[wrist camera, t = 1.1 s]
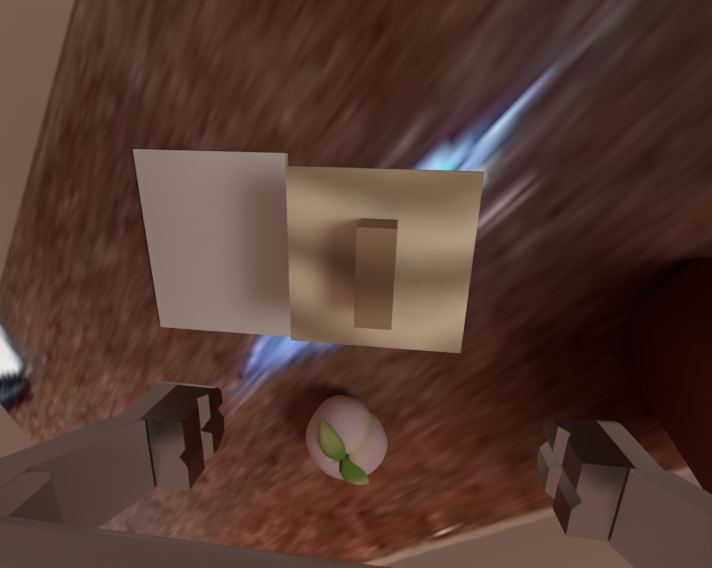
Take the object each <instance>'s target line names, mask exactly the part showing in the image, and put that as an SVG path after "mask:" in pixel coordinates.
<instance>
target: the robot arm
mask: <svg viewBox="0 0 712 568" xmlns="http://www.w3.org/2000/svg"><path fill="white" fill-rule="evenodd" d="M221 404H222V394H221V390H220V389H219V388H218V387H211V386H202V385H193V384H184V383H182V384H181V383H175V382H160V383H159V384H157V385H156V386H155V387H154V388H152V389H151V390H150V391H149V392H148V393H146V394H145V395H144V396H143V397H142V398H140V399H139V400H138V401H137V402H136V403H134V404H133V405H132V406H131V407H130V408H128V409H127V410H126V411H125V412H123V413H122V414H121V415H120V416H119V417H110V418H107V419H104V420H101V421H99V422H96V423H93V424H91V425H88V426H85V427H83V428H80V429H77V430H75V431H72V432H69V433H67V434H64V435H61V436H59V437H56V438H53V439H51V440H48V441H45V442H42V443H40V444H37V445H34V446H32V447H29V448H26V449H24V450H21V451H18V452H16V453H13V454H10V455H8V456H5V457H2V458H0V568H390V567H383V566H375V565H368V564H360V563H353V562H345V561H338V560H330V559H322V558H315V557H307V556H300V555H292V554H285V553H277V552H270V551H262V550H255V549H247V548H240V547H232V546H225V545H217V544H210V543H203V542H195V541H188V540H180V539H173V538H165V537H158V536H150V535H143V534H136V533H128V532H121V531H113V530H106V529H98V528H99V527H100V526H102V525H103V524H105V523H106V522H108V521H109V520H111V519H112V518H114V517H115V516H117V515H118V514H119V513H121V512H122V511H124V510H125V509H127V508H128V507H130V506H131V505H133V504H134V503H135V502H137V501H138V500H140V499H141V498H143V497H144V496H146V495H147V494H149V493H150V492H152V491H153V490H154V489H155V487H157V488H169V489H180V490H191V488H192V487H193V485H194V484H195V482H196V481H197V479H198V478H199V476H200V475H201V473H202V472H203V471H204V469H205V466H204V461H205V460H206V459H208V458H210V457H212V456H213V455H214V454H215V453H216V451H217V450H218V448H219V446H220V443H221V440H222V438H223V433H224V417H223V416H222V414H221V413H220V412H219V410H218V408H219V406H220V405H221ZM542 433H543V434H544V436H545V438H546V440H547V442H545V443H544V444H543V445H542V446H541V447H540V448H539V452H538V459H537V463H538V474H539V478H540V481H541V484H542V486H543V488H544V491H545V492H546V493H548V494H549V495H550V496H551V497H552V498H554V504H553V510H554V512H555V514H556V516H557V518H558V520H559V522H560V524H561V526H562V528H563V530H564V533H565V535H566V536H573V537H580V538H587V539H594V540H600V541H607V542H610V543H609V544H610V545H611V546H612V547H613V548H614V549H615V550H616V551H617V552H618V553H620V554H621V555H622V556H623V557H624V558H625V559H626V560H627V561H628V562H629V563H630V564H631V565H632V566H633V567H634V568H712V494H710V493H709V492H707V491H705V490H703V489H701V488H699V487H698V486H696V485H694V484H692V483H690V482H688V481H686V480H685V479H683V478H681V477H680V476H678V475H676V474H674V473H667V472H665V471H664V470H663V469H662V468H661V467H660V466H659V465H658V464H657V463H656V461H655V460H654V459H653V458H652V457H651V456H650V455H649V454H648V453H647V452H646V451H645V450H644V448H643V447H642V446H641V445H640V444H639V443H638V442H637V441H636V440H635V439H634V438H633V437H632V435H631V434H630V433H629V432H628V431H627V430H626V429H625V428H624V427H623V426H622V425H621V424H619V423H617V422H615V421H599V420H579V419H564V418H550V417H547V419H546V421H545V422H544V426H543V431H542Z"/></svg>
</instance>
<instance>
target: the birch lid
mask: <svg viewBox="0 0 712 568" xmlns="http://www.w3.org/2000/svg"><path fill="white" fill-rule="evenodd" d="M285 169H286V200H287V230H288V261H289V291H290V322H291V340H295V341H308V342H321V343H334V344H347V345H360V346H374V347H387V348H400V349H413V350H426V351H439V352H452V353H461V345H462V337H463V330H464V322H465V315H466V307H467V300H468V292H469V284H470V277H471V269H472V262H473V254H474V246H475V239H476V231H477V224H478V216H479V209H480V201H481V193H482V186H483V178H484V172H477V171H444V170H410V169H377V168H344V167H310V166H285Z"/></svg>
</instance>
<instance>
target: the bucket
mask: <svg viewBox="0 0 712 568" xmlns="http://www.w3.org/2000/svg"><path fill="white" fill-rule="evenodd" d="M629 372H630V374H631V376H632V377H633V379H634V380H635V382H636V384H637V385H638V387H639V388H640V390H641V392H642V393H643V395H644V396H645V398H646V399H647V401H648V403H649V404H650V406H651V407H652V409H653V411H654V412H655V414H656V415H657V417H658V418H659V420H660V422H661V423H662V425H663V426H664V428H665V430H666V431H667V433H668V434H669V436H670V438H671V439H672V441H673V442H674V444H675V445H676V447H677V449H678V450H679V452H680V453H681V455H682V457H683V458H684V460H685V461H686V463H687V465H688V466H689V468H690V469H691V471H692V472H693V474H694V476H695V477H696V479H697V480H698V482H699V484H700V485H701V487H702V488H703V490H705V491H707V492H709V493H710V494H712V258H699V257H698V258H697V259H696V260H694V261H693V262H692V263H690V264H689V265H688V266H686V267H685V268H684V269H683V270H681V271H680V272H679V273H677V274H676V275H675V276H673V277H672V278H671V279H670V280H668V281H667V282H666V283H664V284H663V285H662V286H660V287H659V288H658V289H657V290H655V291H654V292H653V293H651V294H650V295H649V296H647V297H646V298H645V299H644V300H642V301H641V302H640V303H638V304H637V305H636V306H634V307H633V308H632V309H631V326H630V353H629Z"/></svg>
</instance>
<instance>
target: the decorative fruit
mask: <svg viewBox="0 0 712 568" xmlns="http://www.w3.org/2000/svg"><path fill="white" fill-rule="evenodd" d="M306 444H307V449H308V451H309V454H310V456H311V458H312V459H313V461H314V462H315V463H316V464H317V466H318V467H319V468H320V469H322V470H323V471H324V472H325V473H327V474H328V475H330V476H332V477H334V478H338V479H345V480H346V481H348V482H349V483H352V484H355V485H365V484H368V483H369V478H368V476H367V475H368V474H370V473H371V472H373V471H374V470H375V469H376V468H377V467H378V466H379V465H380V463H381V462H382V460H383V458H384V456H385V454H386V451H387V437H386V434H385V431H384V429H383V427H382V425H381V423H380V421H379V419H378V418H377V417H376V416H375V415H374V414H373V413H372V412H371V411H370V410H368V409H367V407H366V405H365V404H364V403H363V402H362V401H361V400H359V399H357V398H354V397H352V396H348V395H336V396H332V397H330V398H328V399H327V400H325V401H324V402H323V403H322V404H321V405H320V406H319V407H318V409H317V410H316V412H315V413H314V415H313V416H312V418H311V420H310V422H309V424H308V427H307V431H306Z"/></svg>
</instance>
